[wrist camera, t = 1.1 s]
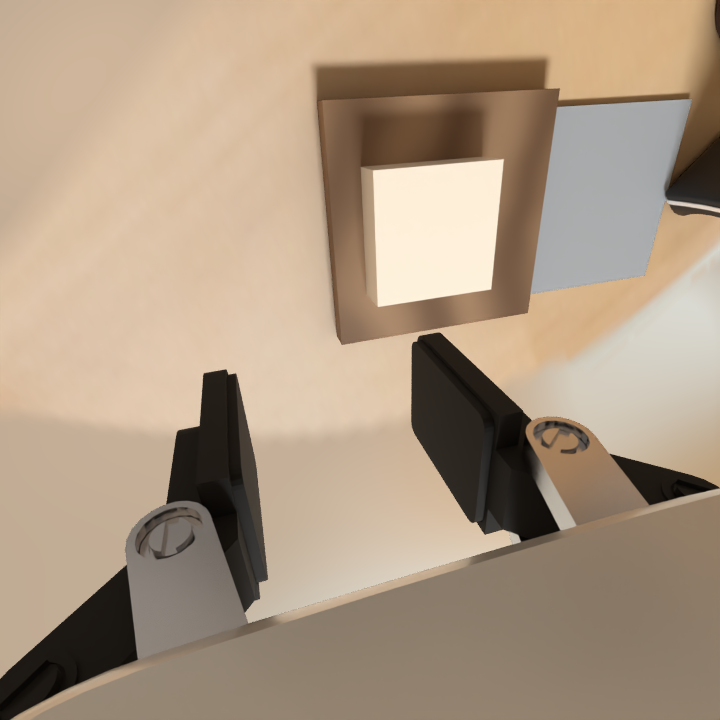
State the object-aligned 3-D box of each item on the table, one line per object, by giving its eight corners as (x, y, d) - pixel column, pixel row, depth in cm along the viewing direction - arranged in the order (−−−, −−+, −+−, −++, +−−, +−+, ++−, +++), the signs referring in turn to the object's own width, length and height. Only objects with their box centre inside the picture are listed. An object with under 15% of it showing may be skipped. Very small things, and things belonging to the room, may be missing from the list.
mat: (688, 99, 31) (692, 98, 31) (641, 274, 38) (644, 275, 38) (542, 107, 29) (545, 107, 29) (518, 294, 35) (520, 295, 35)
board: (544, 90, 28) (559, 88, 27) (516, 306, 36) (527, 312, 34) (317, 101, 25) (322, 100, 24) (337, 336, 33) (342, 344, 31)
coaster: (482, 156, 28) (503, 159, 26) (473, 278, 32) (491, 289, 30) (360, 166, 26) (372, 170, 24) (366, 294, 30) (377, 307, 28)
